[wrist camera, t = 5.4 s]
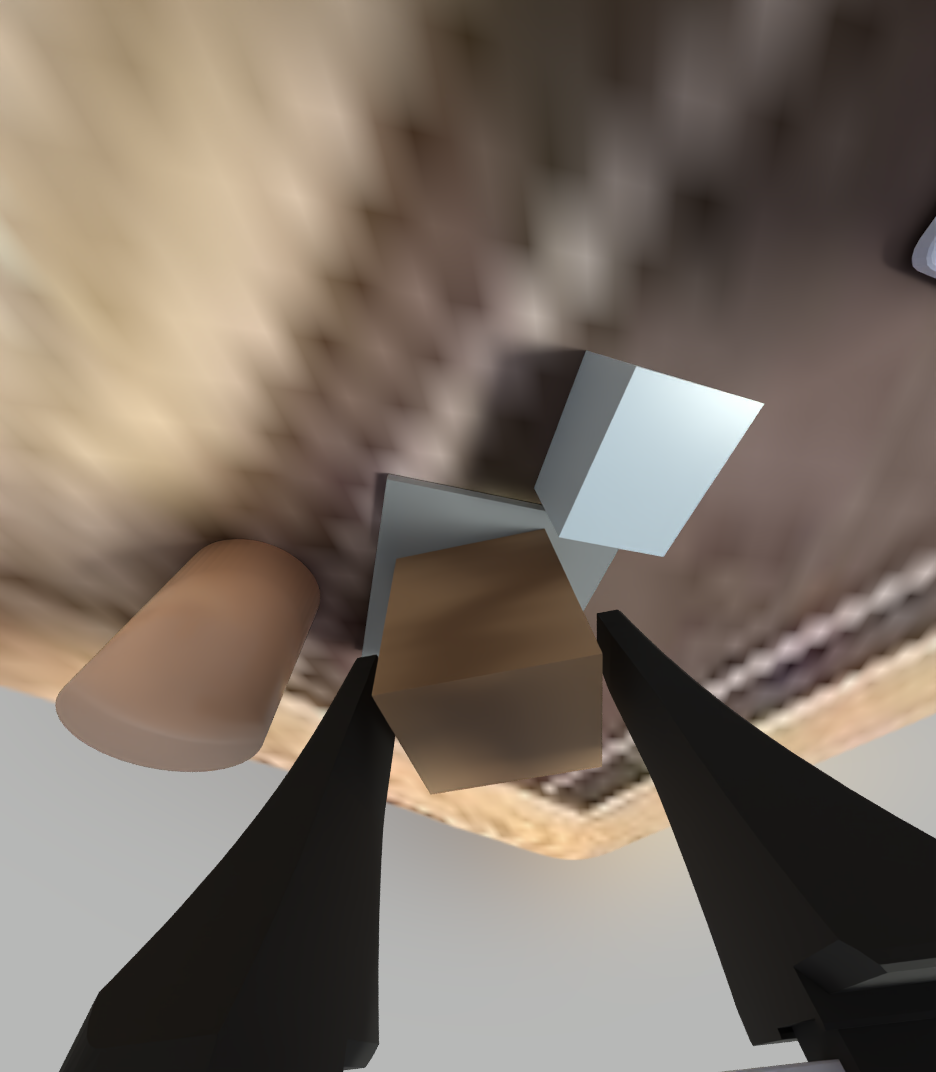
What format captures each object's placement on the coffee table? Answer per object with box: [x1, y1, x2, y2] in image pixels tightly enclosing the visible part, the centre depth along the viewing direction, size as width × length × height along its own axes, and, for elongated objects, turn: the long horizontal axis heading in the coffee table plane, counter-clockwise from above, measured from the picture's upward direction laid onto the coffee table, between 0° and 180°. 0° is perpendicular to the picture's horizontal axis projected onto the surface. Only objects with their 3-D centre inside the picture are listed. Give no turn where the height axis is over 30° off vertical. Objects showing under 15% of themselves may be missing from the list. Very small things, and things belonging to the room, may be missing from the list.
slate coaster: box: [362, 474, 619, 657], centre depth 13 cm, size 8×8×1 cm
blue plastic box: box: [534, 351, 764, 557], centre depth 9 cm, size 3×4×3 cm
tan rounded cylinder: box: [56, 539, 320, 772], centre depth 11 cm, size 4×4×5 cm
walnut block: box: [372, 529, 602, 794], centre depth 11 cm, size 5×5×5 cm
